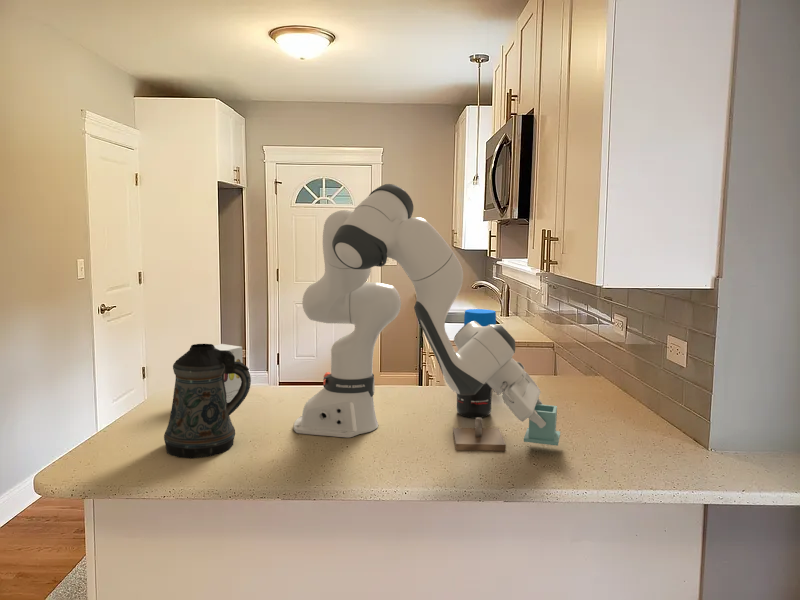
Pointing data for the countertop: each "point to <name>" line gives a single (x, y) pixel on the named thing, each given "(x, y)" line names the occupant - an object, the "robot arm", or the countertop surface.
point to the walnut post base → (478, 438)
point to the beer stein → (204, 402)
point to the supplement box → (233, 380)
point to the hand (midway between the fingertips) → (545, 420)
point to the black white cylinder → (475, 403)
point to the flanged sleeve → (548, 431)
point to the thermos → (480, 316)
